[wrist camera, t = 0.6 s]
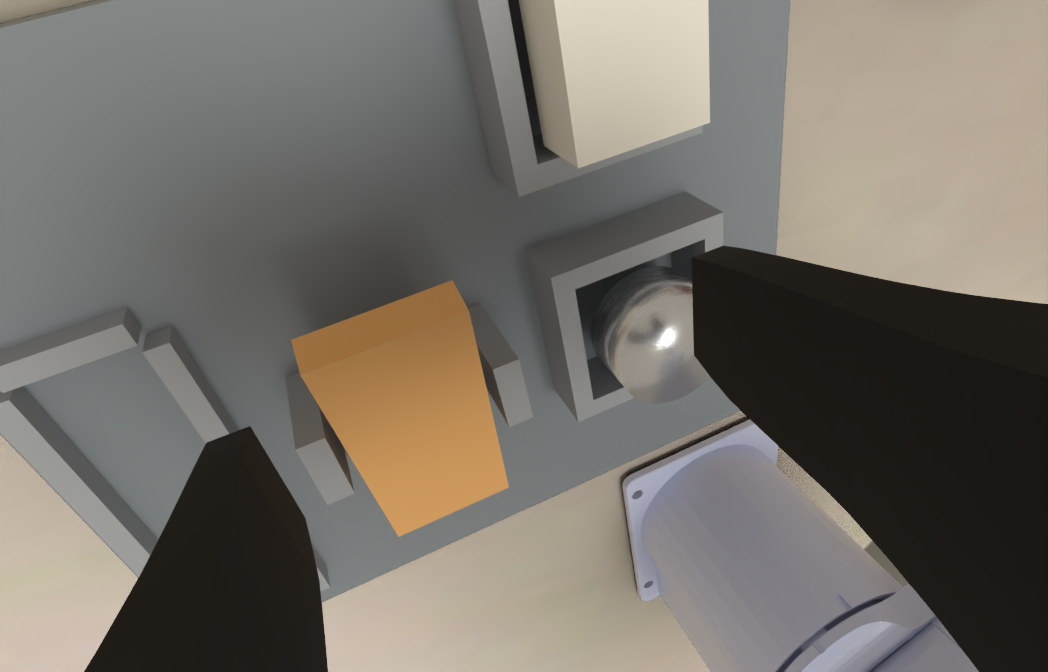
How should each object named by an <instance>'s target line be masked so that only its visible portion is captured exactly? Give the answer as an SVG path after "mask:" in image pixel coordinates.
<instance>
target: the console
mask: <svg viewBox="0 0 1048 672" xmlns="http://www.w3.org/2000/svg"><path fill="white" fill-rule="evenodd" d="M708 8H709V82H710V123H708V124H705V125H702V126H699V127H696V128H693V129H691V130H688V131H685V132H682V133H679V134H676V135H673V136H670V137H668V138H665V139H662V140H659V141H656V142H653V143H650V144H647V145H644V146H642V147H639V148H636V149H633V150H630V151H627V152H624V153H621V154H619V155H616V156H613V157H610V158H607V159H604V160H601V161H598V162H596V163H593V164H590V165H587V166H584V167H581V168H577V167H575V166H574V165H572V164H571V163H569V162H568V161H566V160H565V159H563V158H562V157H560V156H559V155H557V154H556V153H554V152H553V151H551V150H550V149H548V148H547V147H545V146H544V144H543V138H542V132H541V126H540V121H539V115H538V109H537V103H536V98H535V92H534V86H533V80H532V75H531V69H530V63H529V57H528V51H527V46H526V40H525V34H524V28H523V23H522V17H521V11H520V5H519V0H93V1H89V2H85V3H81V4H77V5H73V6H69V7H65V8H61V9H57V10H53V11H49V12H44V13H40V14H36V15H32V16H28V17H24V18H20V19H16V20H12V21H8V22H4V23H0V434H1V436H2V437H3V438H4V439H5V440H6V441H7V442H8V443H9V444H10V445H11V446H12V447H13V448H14V449H15V450H16V451H17V452H18V453H19V454H20V455H21V456H22V457H23V458H24V459H25V460H26V462H27V463H28V464H29V465H30V466H31V467H32V468H33V469H34V470H35V471H36V472H37V473H38V474H39V475H40V476H41V477H42V478H43V479H44V480H45V481H46V482H47V483H48V484H49V485H50V486H51V487H52V489H53V490H54V491H55V492H56V493H57V494H58V495H59V496H60V497H61V498H62V499H63V500H64V501H65V502H66V503H67V504H68V505H69V506H70V507H71V508H72V509H73V510H74V511H75V512H76V513H77V514H78V516H79V517H80V518H81V519H82V520H83V521H84V522H85V523H86V524H87V525H88V526H89V527H90V528H91V529H92V530H93V531H94V532H95V533H96V534H97V535H98V536H99V537H100V538H101V539H102V540H103V542H104V543H105V544H106V545H107V546H108V547H109V548H110V549H111V550H112V551H113V552H114V553H115V554H116V555H117V556H118V557H119V558H120V559H121V560H122V561H123V562H124V563H125V564H126V565H127V566H128V567H129V569H130V570H131V571H132V572H133V573H134V574H135V575H136V576H137V577H138V578H139V576H140V574H141V572H142V570H143V568H144V566H145V564H146V562H147V561H148V559H149V557H150V555H151V553H152V551H153V549H154V547H155V545H156V543H157V541H158V539H159V537H160V535H161V533H162V531H163V529H164V527H165V525H166V523H167V521H168V519H169V517H170V515H171V513H172V511H173V509H174V507H175V505H176V503H177V501H178V499H179V497H180V495H181V493H182V490H183V488H184V486H185V484H186V482H187V480H188V478H189V476H190V474H191V472H192V470H193V468H194V466H195V464H196V462H197V460H198V458H199V456H200V454H201V452H202V450H203V448H204V446H205V444H206V443H207V442H209V441H212V440H215V439H217V438H220V437H222V436H225V435H228V434H230V433H233V432H236V431H238V430H241V429H243V428H246V427H249V426H251V428H252V430H253V431H254V433H255V435H256V436H257V438H258V440H259V441H260V443H261V445H262V446H263V448H264V450H265V451H266V453H267V455H268V456H269V458H270V460H271V461H272V463H273V465H274V466H275V468H276V470H277V471H278V473H279V475H280V476H281V478H282V480H283V481H284V483H285V485H286V486H287V488H288V490H289V491H290V493H291V495H292V496H293V498H294V500H295V501H296V503H297V505H298V506H299V508H300V510H301V511H302V513H303V515H304V516H305V518H306V522H307V527H308V531H309V535H310V540H311V544H312V548H313V552H314V557H315V562H316V567H317V571H318V576H319V582H320V592H321V602H324V601H326V600H328V599H331V598H333V597H335V596H337V595H339V594H342V593H344V592H346V591H348V590H350V589H352V588H355V587H357V586H359V585H361V584H363V583H366V582H368V581H370V580H372V579H374V578H376V577H379V576H381V575H383V574H385V573H387V572H390V571H392V570H394V569H396V568H398V567H400V566H403V565H405V564H407V563H409V562H411V561H414V560H416V559H418V558H420V557H422V556H424V555H427V554H429V553H431V552H433V551H435V550H438V549H440V548H442V547H444V546H446V545H448V544H451V543H453V542H455V541H457V540H459V539H462V538H464V537H466V536H468V535H470V534H472V533H475V532H477V531H479V530H481V529H483V528H485V527H488V526H490V525H492V524H494V523H496V522H499V521H501V520H503V519H505V518H507V517H509V516H512V515H514V514H516V513H518V512H520V511H523V510H525V509H527V508H529V507H531V506H533V505H536V504H538V503H540V502H542V501H544V500H547V499H549V498H551V497H553V496H555V495H557V494H560V493H562V492H564V491H566V490H568V489H571V488H573V487H575V486H577V485H579V484H581V483H584V482H586V481H588V480H590V479H592V478H595V477H597V476H599V475H601V474H603V473H605V472H608V471H610V470H612V469H614V468H616V467H619V466H621V465H623V464H625V463H627V462H629V461H632V460H634V459H636V458H638V457H640V456H643V455H645V454H647V453H649V452H651V451H653V450H656V449H658V448H660V447H662V446H664V445H666V444H669V443H671V442H673V441H675V440H677V439H680V438H682V437H684V436H686V435H688V434H690V433H693V432H695V431H697V430H699V429H701V428H704V427H706V426H708V425H710V424H712V423H714V422H717V421H719V420H721V419H723V418H725V417H728V416H730V415H732V414H734V413H736V412H738V411H741V410H740V409H739V408H738V407H737V406H736V405H734V404H733V403H732V402H731V401H730V400H729V399H728V397H727V396H726V395H725V394H724V393H723V391H722V390H721V389H720V388H719V387H718V385H717V384H716V383H715V382H714V381H713V379H712V378H711V377H709V378H708V379H707V380H706V381H705V382H704V383H703V384H702V385H701V386H700V387H698V388H697V389H696V390H694V391H693V392H691V393H689V394H688V395H686V396H684V397H682V398H680V399H677V400H675V401H671V402H668V403H662V404H651V403H645V402H642V401H640V400H638V399H636V398H635V397H633V396H632V395H631V394H630V393H629V392H628V391H627V389H626V388H625V387H624V386H623V385H622V384H621V383H620V382H619V380H618V379H617V378H616V377H615V376H614V375H613V374H612V372H611V371H610V370H609V369H608V368H607V367H606V366H605V364H604V363H603V362H602V361H601V360H600V359H599V358H598V356H597V355H596V353H595V352H594V349H593V347H592V342H591V326H592V321H593V318H594V315H595V312H596V310H597V308H598V306H599V304H600V303H601V301H602V299H603V298H604V297H605V295H606V294H607V293H608V292H609V291H610V290H611V288H612V287H613V286H615V285H616V284H617V283H618V282H619V281H620V280H622V279H623V278H625V277H626V276H628V275H630V274H631V273H633V272H635V271H638V270H640V269H643V268H647V267H652V266H665V267H670V268H673V269H675V270H677V271H679V272H680V273H682V274H683V275H684V276H686V277H687V278H688V279H690V280H691V281H692V257H695V256H697V255H700V254H703V253H705V252H708V251H710V250H713V249H716V248H718V247H721V246H730V247H737V248H743V249H748V250H754V251H758V252H763V253H768V254H772V255H776V246H777V228H778V210H779V191H780V173H781V155H782V137H783V119H784V101H785V83H786V65H787V47H788V29H789V11H790V0H708ZM452 280H453V282H454V284H455V286H456V288H457V289H458V291H459V293H460V295H461V297H462V299H463V301H464V302H465V304H466V306H467V308H468V310H469V313H470V317H471V322H472V326H473V330H474V335H475V339H476V344H477V348H478V353H479V357H480V361H481V366H482V370H483V375H484V379H485V383H486V387H487V390H488V392H489V396H490V399H489V401H490V405H491V410H492V414H493V419H494V423H495V427H496V432H497V436H498V441H499V445H500V450H501V454H502V458H503V463H504V467H505V472H506V476H507V480H508V485H509V488H507V489H504V490H502V491H500V492H498V493H495V494H493V495H491V496H489V497H487V498H484V499H482V500H480V501H478V502H475V503H473V504H471V505H469V506H466V507H464V508H462V509H460V510H458V511H455V512H453V513H451V514H449V515H446V516H444V517H442V518H440V519H437V520H435V521H433V522H431V523H429V524H426V525H424V526H422V527H420V528H417V529H415V530H413V531H411V532H408V533H406V534H404V535H402V536H400V537H398V535H397V534H396V532H395V530H394V529H393V527H392V525H391V524H390V522H389V520H388V519H387V517H386V515H385V514H384V512H383V511H382V509H381V507H380V506H379V504H378V502H377V501H376V499H375V497H374V496H373V494H372V492H371V491H370V489H369V487H368V486H367V484H366V483H365V481H364V479H363V478H362V476H361V474H360V473H359V471H358V469H357V468H356V466H355V464H354V463H353V461H352V460H351V458H350V457H348V455H347V453H346V451H345V449H344V447H343V445H342V443H341V441H340V440H339V438H338V437H337V435H336V433H335V432H334V430H333V428H332V427H331V425H330V423H329V422H328V420H327V418H326V417H325V415H324V413H323V412H322V410H321V409H320V407H319V405H318V404H317V402H316V400H315V399H314V397H313V395H312V394H311V392H310V390H309V389H308V387H307V386H306V384H305V382H304V381H303V379H302V377H301V376H300V372H299V368H298V364H297V361H296V357H295V353H294V349H293V345H292V342H291V340H292V339H295V338H298V337H300V336H303V335H306V334H308V333H311V332H314V331H316V330H319V329H322V328H325V327H327V326H330V325H333V324H335V323H338V322H341V321H343V320H346V319H349V318H352V317H354V316H357V315H360V314H362V313H365V312H368V311H370V310H373V309H376V308H379V307H381V306H384V305H387V304H389V303H392V302H395V301H397V300H400V299H403V298H406V297H408V296H411V295H414V294H416V293H419V292H422V291H424V290H427V289H430V288H433V287H435V286H438V285H441V284H443V283H446V282H449V281H452Z"/></svg>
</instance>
